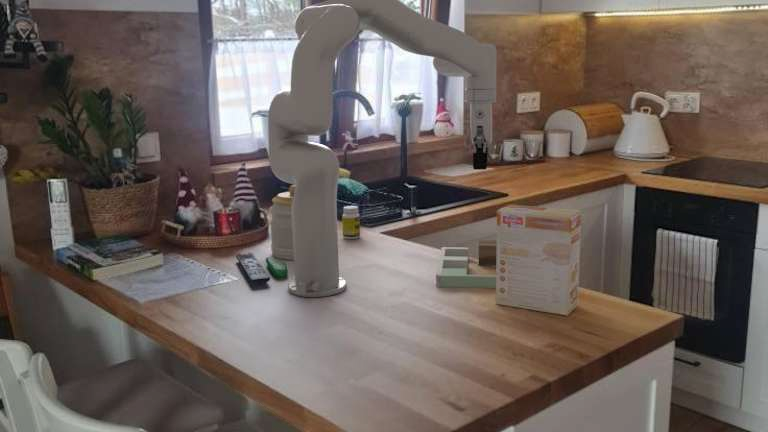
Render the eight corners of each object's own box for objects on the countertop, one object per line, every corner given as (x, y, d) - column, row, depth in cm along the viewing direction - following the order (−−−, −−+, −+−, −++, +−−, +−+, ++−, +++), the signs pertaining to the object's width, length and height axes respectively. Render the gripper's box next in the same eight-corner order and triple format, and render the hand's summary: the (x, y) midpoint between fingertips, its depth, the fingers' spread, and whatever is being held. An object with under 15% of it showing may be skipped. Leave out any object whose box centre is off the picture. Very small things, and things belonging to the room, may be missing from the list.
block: (499, 266, 178) (500, 245, 177) (478, 265, 179) (478, 245, 178) (499, 260, 183) (499, 240, 182) (478, 259, 184) (478, 239, 182)
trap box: (518, 288, 162) (518, 277, 161) (436, 286, 164) (436, 275, 163) (514, 258, 184) (514, 248, 183) (441, 256, 186) (441, 247, 186)
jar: (263, 259, 187) (259, 189, 183) (282, 245, 199) (279, 179, 195) (313, 262, 184) (310, 190, 180) (329, 248, 196) (327, 181, 192)
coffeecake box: (578, 305, 151) (582, 209, 146) (567, 316, 145) (571, 217, 140) (507, 294, 158) (509, 202, 154) (494, 304, 152) (495, 209, 148)
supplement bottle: (357, 239, 204) (357, 209, 202) (340, 239, 205) (339, 208, 203) (362, 235, 209) (361, 205, 207) (345, 234, 210) (344, 205, 208)
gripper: (495, 98, 175) (495, 172, 179) (496, 93, 192) (496, 160, 196) (463, 99, 176) (463, 172, 180) (466, 93, 193) (466, 160, 197)
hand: (480, 165), depth 188 cm, fingers open, 9 cm apart
